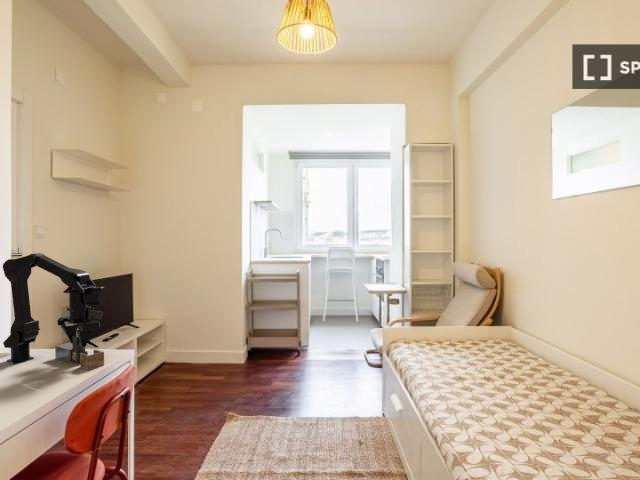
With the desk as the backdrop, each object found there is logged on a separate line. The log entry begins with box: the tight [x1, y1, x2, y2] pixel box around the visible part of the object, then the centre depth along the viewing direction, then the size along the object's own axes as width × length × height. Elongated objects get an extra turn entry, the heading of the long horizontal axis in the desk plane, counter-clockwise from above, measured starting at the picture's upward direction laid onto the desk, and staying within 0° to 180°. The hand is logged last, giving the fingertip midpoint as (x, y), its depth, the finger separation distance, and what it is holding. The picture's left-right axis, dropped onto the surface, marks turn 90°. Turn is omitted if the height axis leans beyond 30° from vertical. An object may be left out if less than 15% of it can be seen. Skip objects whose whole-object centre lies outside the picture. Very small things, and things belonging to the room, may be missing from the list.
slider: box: [71, 334, 89, 363], centre depth 142 cm, size 15×3×9 cm, turn 61°
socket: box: [79, 349, 105, 371], centre depth 135 cm, size 6×5×5 cm
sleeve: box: [54, 342, 75, 364], centre depth 143 cm, size 10×5×5 cm, turn 61°
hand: (78, 345), depth 139 cm, fingers open, 7 cm apart
